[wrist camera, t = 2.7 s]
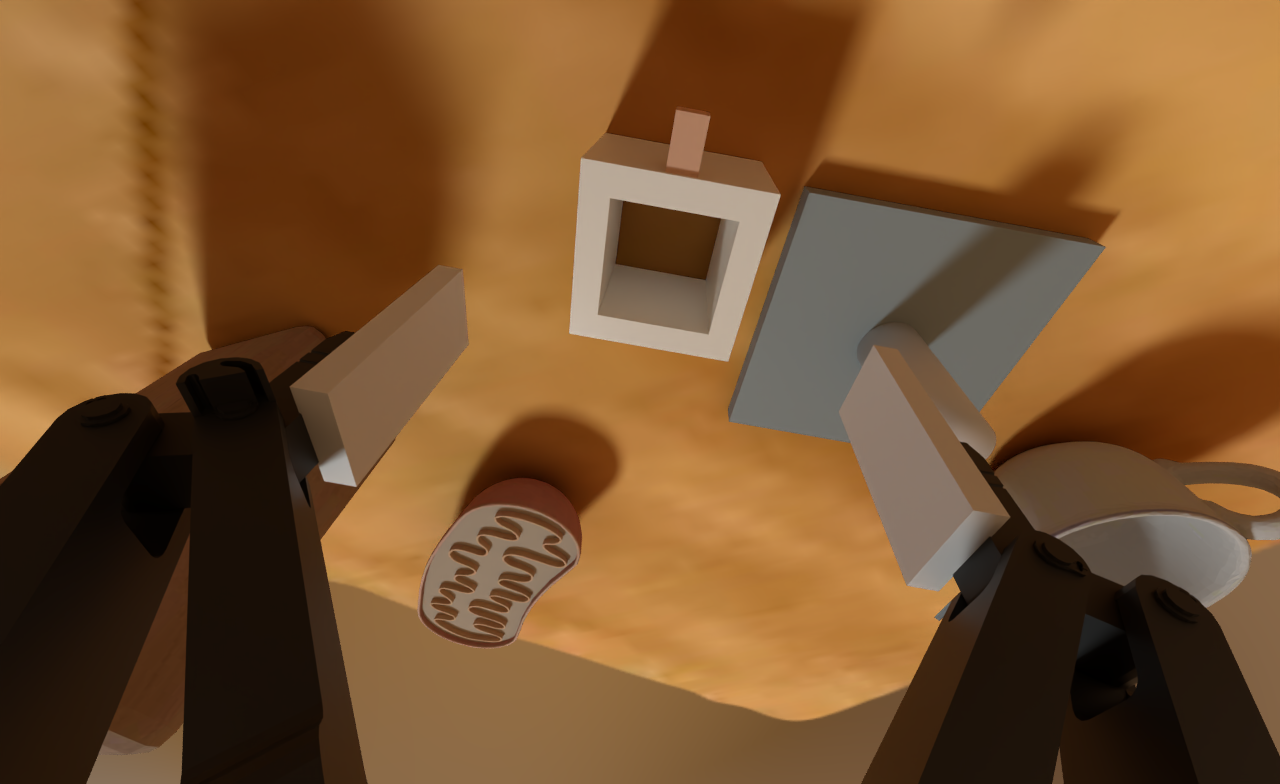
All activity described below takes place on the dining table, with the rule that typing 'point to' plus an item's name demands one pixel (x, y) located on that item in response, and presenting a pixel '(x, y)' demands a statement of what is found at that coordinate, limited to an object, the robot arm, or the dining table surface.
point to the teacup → (1142, 513)
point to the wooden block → (160, 668)
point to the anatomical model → (498, 562)
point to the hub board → (900, 310)
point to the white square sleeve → (679, 181)
